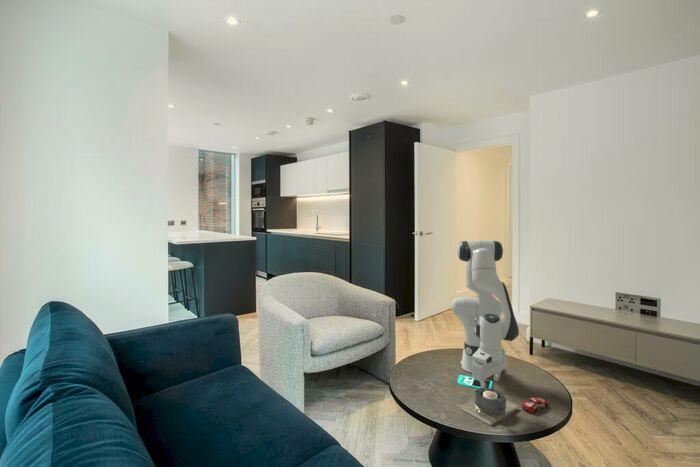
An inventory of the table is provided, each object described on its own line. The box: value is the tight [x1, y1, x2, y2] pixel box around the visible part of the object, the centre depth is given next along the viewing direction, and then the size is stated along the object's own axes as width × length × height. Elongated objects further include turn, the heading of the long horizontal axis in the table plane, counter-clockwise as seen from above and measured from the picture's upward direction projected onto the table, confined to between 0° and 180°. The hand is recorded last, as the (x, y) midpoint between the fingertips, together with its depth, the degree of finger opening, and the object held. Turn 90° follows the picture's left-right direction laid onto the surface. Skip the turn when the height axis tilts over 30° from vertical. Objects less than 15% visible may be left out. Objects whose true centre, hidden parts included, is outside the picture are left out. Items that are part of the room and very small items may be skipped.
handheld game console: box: [457, 374, 494, 390], centre depth 176 cm, size 10×16×1 cm, turn 63°
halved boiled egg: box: [483, 391, 498, 400], centre depth 153 cm, size 6×6×4 cm
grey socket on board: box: [461, 388, 519, 426], centre depth 153 cm, size 20×14×6 cm
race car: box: [521, 396, 549, 414], centre depth 154 cm, size 13×5×4 cm, turn 118°
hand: (490, 384), depth 153 cm, fingers open, 8 cm apart
